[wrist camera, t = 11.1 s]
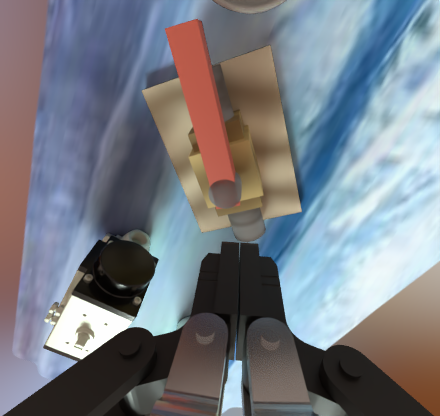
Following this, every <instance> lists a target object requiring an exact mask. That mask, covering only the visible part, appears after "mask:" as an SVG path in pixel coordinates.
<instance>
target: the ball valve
mask: <svg viewBox="0 0 440 416" xmlns="http://www.w3.org/2000/svg"><path fill="white" fill-rule="evenodd" d="M150 245H151V244H150V239H149V236H148V235H147V234H146V233H144V232H143V231H140V230H137V229H136V230H133V231H130V232H128V233H127V234H125V235H124V236H123V237H121V236H119V235H117V236H114V235H112V234H110V233H107V234H106V236H105V237H104V238H103V240H98V241H97V243H96V244H95V245H94V247H93V248H92V250H91V251H90V252H89V254H88V255H87V256H86V258H85V259H84V260H83V262H82V263H81V264H80V266H79V268H78V270H77V272H76V274H75V276H74V278H73V280H72V282H71V284H70V286H69V288H68V290H67V292H66V294H65V296H64V298H63V300H62V302H61V304H60V306H59V307H58V305H59V303H58V302H55V303H54V304H53V305H52V307H51V308H50V310H49V314H48V315H47V317H46V318H45V320H44V321H45V322H47V323H48V322H49V321H50V320H52V321H51V325H54V328H53V330H52V332H51V333H50V335H49V337H48V339H47V341H46V343H45V345H44V347H43V348H44V349H47V350H49V351H52V352H55V353H57V354H60V355H62V356H65V357H68V358H70V359H73V360H75V361H78V362H79V361H80V360H81V359H83V358H84V357H86V356H87V355H88V354H90V353H91V352H93V351H94V350H95V349H97V348H98V347H100V346H101V345H102V344H104V343H105V342H107V341H108V340H109V339H111V338H112V337H114V336H115V335H116V334H118V333H119V332H121V331H123V330H125V329H127V328H128V327H129V325H130V324H131V323H132V321H133V320H134V319H135V318H136V316H137V314H138V311H139V309H140V306H141V303H142V301H143V298H144V296H145V293H146V291H147V288H148V286H149V283H150V281H151V279H152V278H153V276H154V273H155V268H156V265H157V263H158V260H159V259H157V258H156V257H154V256H152V255H151V254H150V253H149V249H150ZM54 311H56V313H55V312H54ZM54 313H55V315H54ZM53 315H54V316H53Z"/></svg>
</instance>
